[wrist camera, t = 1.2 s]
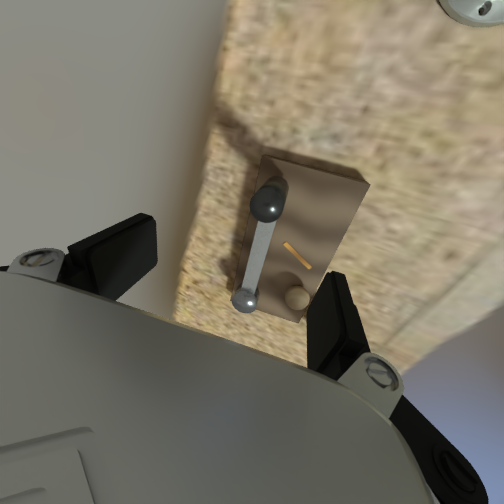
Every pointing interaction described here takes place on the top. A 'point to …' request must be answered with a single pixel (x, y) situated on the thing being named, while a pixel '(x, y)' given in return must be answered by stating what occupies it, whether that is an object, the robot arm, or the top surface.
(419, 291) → the top surface
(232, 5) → the top surface
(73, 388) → the robot arm
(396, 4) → the top surface
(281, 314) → the board
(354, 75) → the top surface
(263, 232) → the lever
